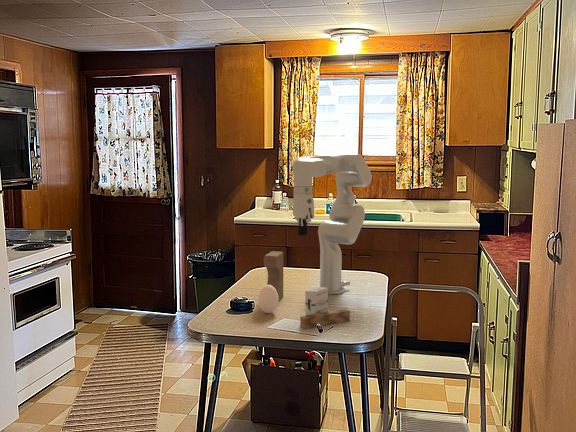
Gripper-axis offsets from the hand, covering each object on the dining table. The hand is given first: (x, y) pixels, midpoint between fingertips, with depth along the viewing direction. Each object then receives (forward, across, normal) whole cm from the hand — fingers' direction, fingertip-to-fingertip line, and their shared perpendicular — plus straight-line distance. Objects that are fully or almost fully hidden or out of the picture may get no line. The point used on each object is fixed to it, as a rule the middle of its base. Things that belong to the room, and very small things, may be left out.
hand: (302, 235), depth 246 cm
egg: (+29, -4, +18) cm, 35 cm away
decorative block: (+29, +12, +7) cm, 32 cm away
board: (+29, -26, +6) cm, 40 cm away
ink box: (+29, -20, +6) cm, 36 cm away
